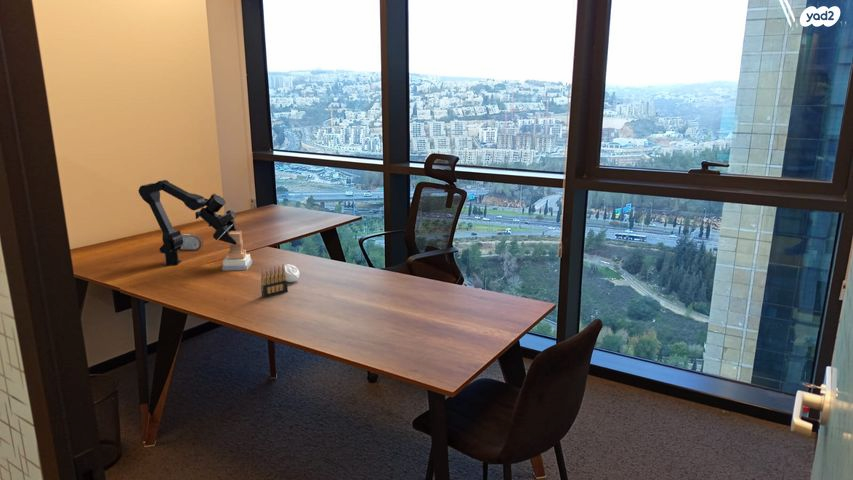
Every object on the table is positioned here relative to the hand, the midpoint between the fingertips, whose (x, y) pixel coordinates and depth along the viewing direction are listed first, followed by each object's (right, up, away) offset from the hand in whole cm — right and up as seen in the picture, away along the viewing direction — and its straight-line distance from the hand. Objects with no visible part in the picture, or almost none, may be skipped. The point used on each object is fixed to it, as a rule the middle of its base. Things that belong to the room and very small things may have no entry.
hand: (238, 241), depth 269 cm
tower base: (-1, -12, +3) cm, 13 cm away
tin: (-36, -5, +30) cm, 47 cm away
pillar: (-1, -7, +2) cm, 8 cm away
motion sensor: (+28, -18, -18) cm, 38 cm away
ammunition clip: (+25, -22, -32) cm, 46 cm away
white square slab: (-2, -10, +3) cm, 10 cm away
